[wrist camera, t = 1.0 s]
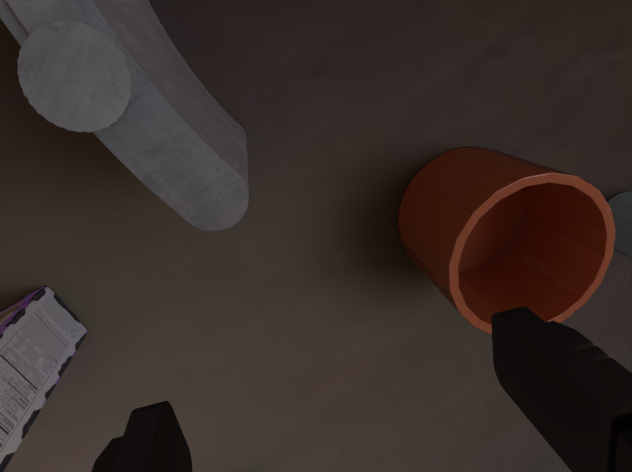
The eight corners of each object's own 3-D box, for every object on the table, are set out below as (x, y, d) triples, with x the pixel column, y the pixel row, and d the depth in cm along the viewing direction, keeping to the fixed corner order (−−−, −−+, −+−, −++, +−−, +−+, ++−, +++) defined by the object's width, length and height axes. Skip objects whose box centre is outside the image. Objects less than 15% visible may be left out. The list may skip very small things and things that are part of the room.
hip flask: (254, 145, 36) (265, 224, 18) (214, 172, 36) (182, 278, 18) (119, -50, 30) (-81, -240, 12) (72, -15, 30) (-197, -147, 12)
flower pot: (522, 260, 44) (605, 317, 34) (402, 285, 43) (451, 352, 33) (526, 135, 39) (625, 158, 29) (392, 159, 38) (446, 192, 28)
